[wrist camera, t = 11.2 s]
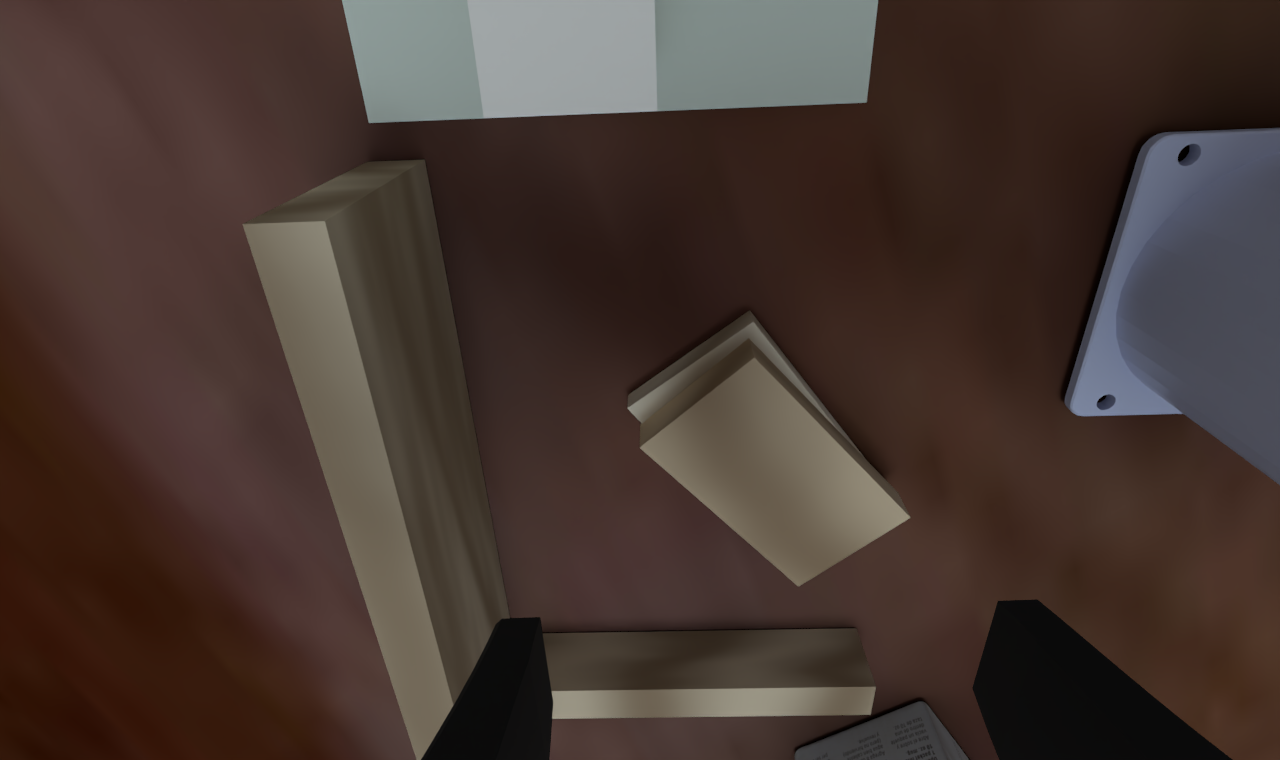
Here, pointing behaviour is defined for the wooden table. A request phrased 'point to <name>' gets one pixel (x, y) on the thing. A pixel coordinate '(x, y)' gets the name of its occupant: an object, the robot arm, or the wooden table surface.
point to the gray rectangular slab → (564, 56)
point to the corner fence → (469, 482)
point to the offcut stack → (764, 452)
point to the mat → (685, 55)
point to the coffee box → (889, 739)
